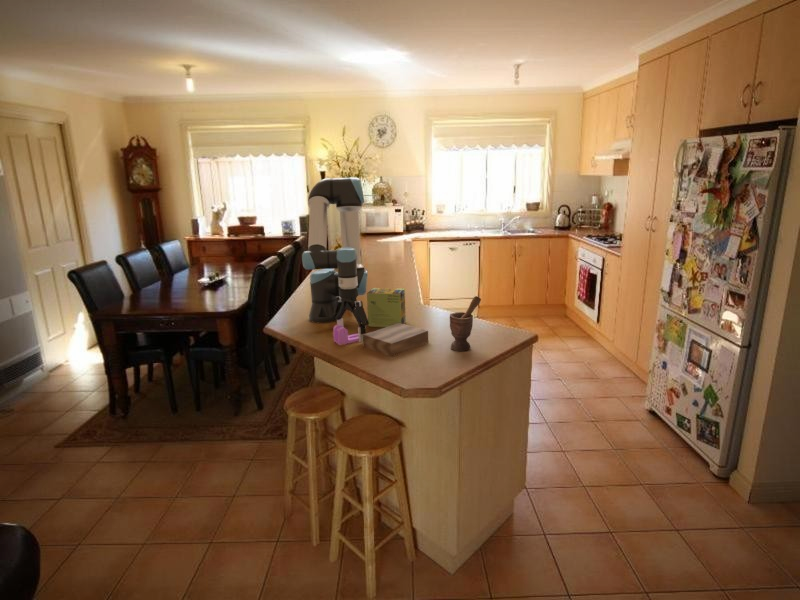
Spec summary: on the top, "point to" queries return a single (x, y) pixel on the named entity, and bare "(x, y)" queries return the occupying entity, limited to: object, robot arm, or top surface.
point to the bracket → (343, 335)
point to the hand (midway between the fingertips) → (351, 337)
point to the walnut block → (395, 339)
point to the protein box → (386, 307)
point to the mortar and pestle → (462, 326)
